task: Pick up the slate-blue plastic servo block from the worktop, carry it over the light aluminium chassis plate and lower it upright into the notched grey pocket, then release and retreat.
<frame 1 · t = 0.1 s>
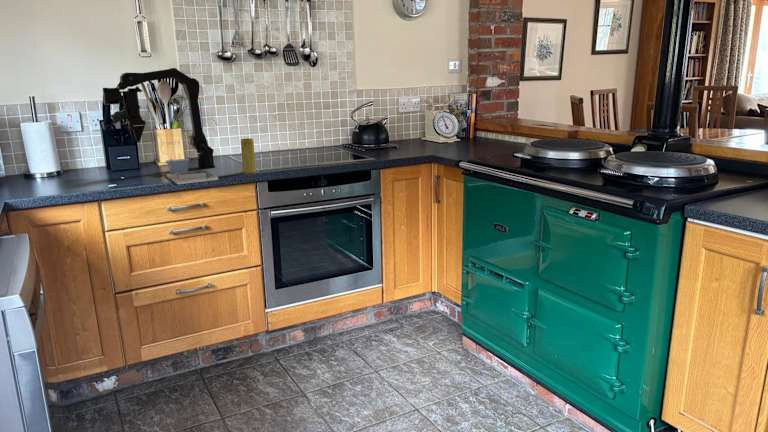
hand: (136, 140, 242), 15 cm above the countertop, fingers open, 9 cm apart
vase: (249, 172, 247), on the countertop
servo block: (179, 173, 247), on the countertop
chassis plate: (191, 178, 236), on the countertop
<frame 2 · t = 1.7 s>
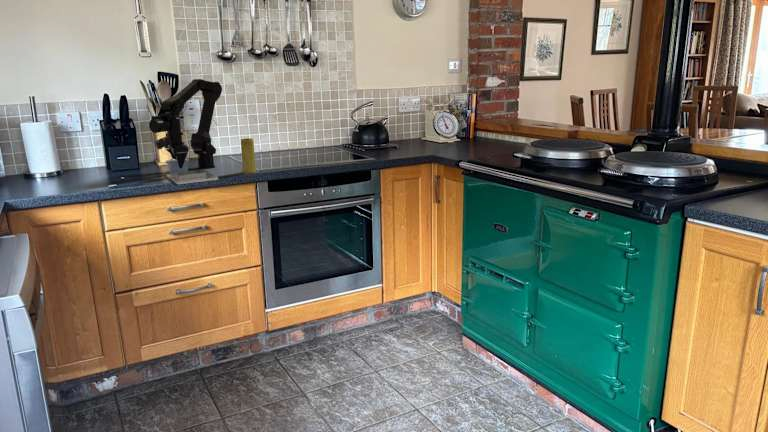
hand: (178, 166, 246), 3 cm above the countertop, fingers open, 9 cm apart
nothing on the countertop moved.
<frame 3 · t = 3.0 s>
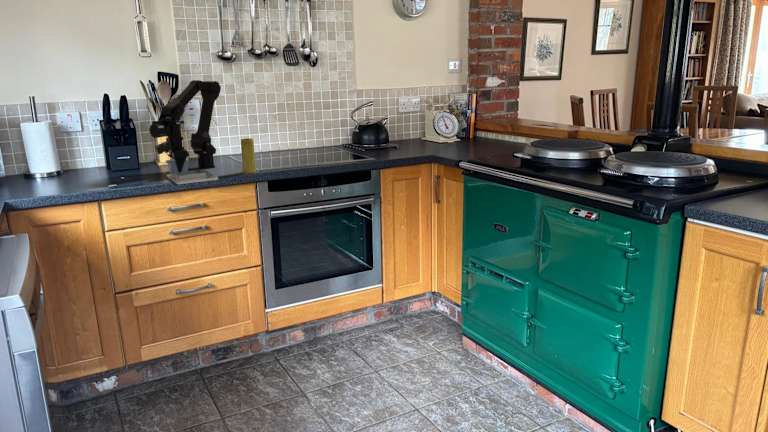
hand: (178, 171, 246), 1 cm above the countertop, fingers closed on servo block, 4 cm apart
servo block: (178, 173, 247), on the countertop, touching gripper
everything else where it was.
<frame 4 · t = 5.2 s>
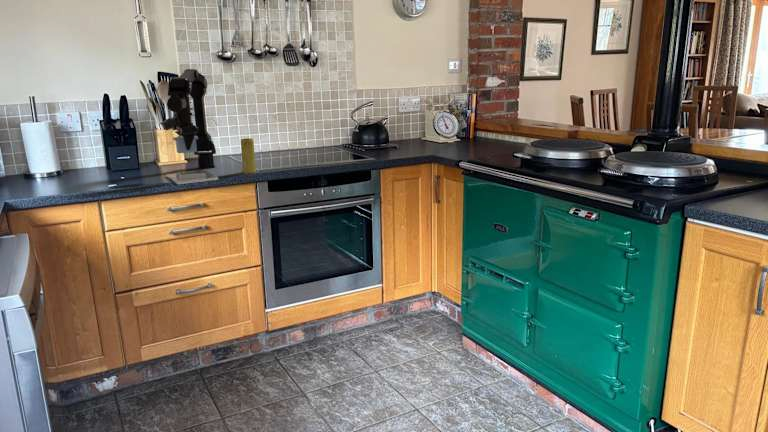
hand: (187, 149, 230), 12 cm above the countertop, fingers closed on servo block, 4 cm apart
servo block: (186, 152, 230), point 11 cm above the countertop, touching gripper
everything else where it was.
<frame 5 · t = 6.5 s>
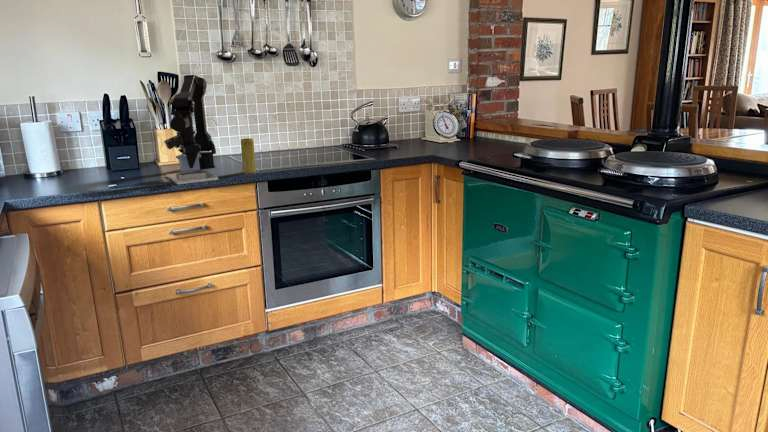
hand: (189, 167, 232), 5 cm above the countertop, fingers closed on servo block, 4 cm apart
servo block: (189, 169, 232), point 4 cm above the countertop, touching gripper
everything else where it was.
when the fingers open (3 cm above the countertop, at t = 7.6 s): servo block drops 1 cm, resting on chassis plate.
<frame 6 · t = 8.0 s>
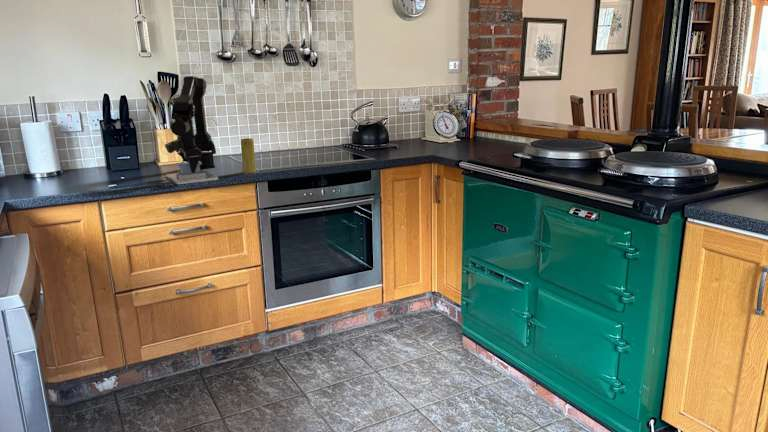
hand: (190, 171, 232), 3 cm above the countertop, fingers open, 9 cm apart
servo block: (190, 177, 233), point 1 cm above the countertop, touching chassis plate
everything else where it was.
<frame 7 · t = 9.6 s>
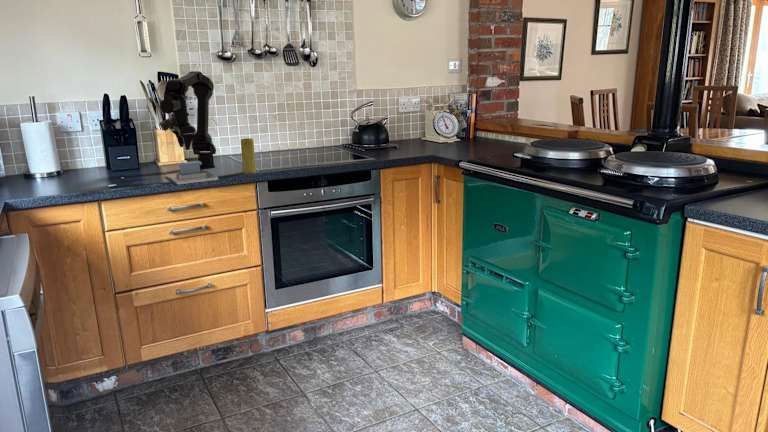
hand: (184, 148, 239), 12 cm above the countertop, fingers open, 9 cm apart
nothing on the countertop moved.
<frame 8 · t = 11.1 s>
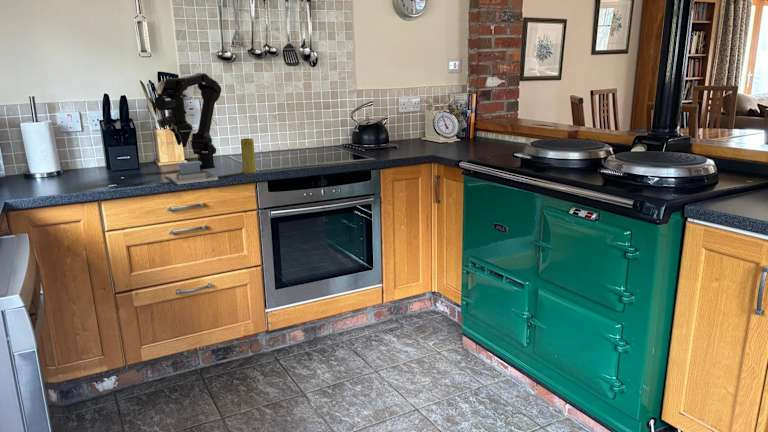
hand: (181, 146, 243), 12 cm above the countertop, fingers open, 9 cm apart
nothing on the countertop moved.
at the end: servo block 0.1 cm from the target spot on the chassis plate, point 1.0 cm above the chassis plate's base; servo block tilted 0°; the gripper is holding nothing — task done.
